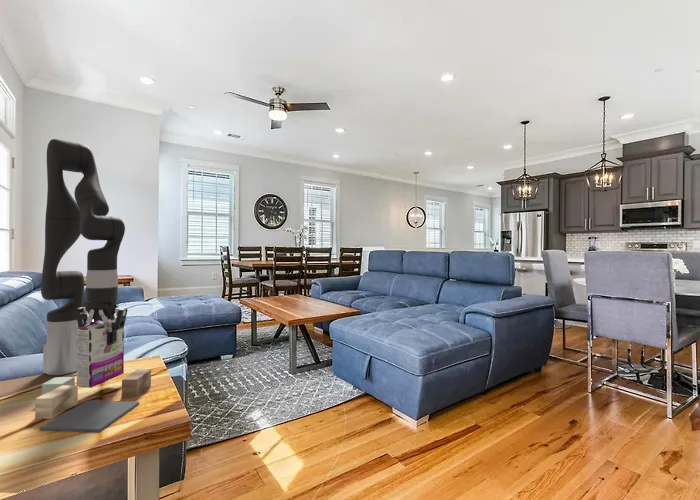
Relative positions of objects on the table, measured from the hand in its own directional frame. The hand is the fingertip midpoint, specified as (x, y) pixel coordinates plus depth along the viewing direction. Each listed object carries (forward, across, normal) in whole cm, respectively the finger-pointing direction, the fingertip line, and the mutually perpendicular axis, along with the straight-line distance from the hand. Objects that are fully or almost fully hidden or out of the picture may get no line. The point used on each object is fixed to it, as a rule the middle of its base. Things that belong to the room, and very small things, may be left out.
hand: (101, 343), depth 100 cm
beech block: (+14, +2, +12) cm, 19 cm away
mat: (+13, -9, +14) cm, 22 cm away
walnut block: (+14, -10, -1) cm, 17 cm away
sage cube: (+14, +8, +5) cm, 17 cm away
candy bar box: (+11, 0, 0) cm, 11 cm away
